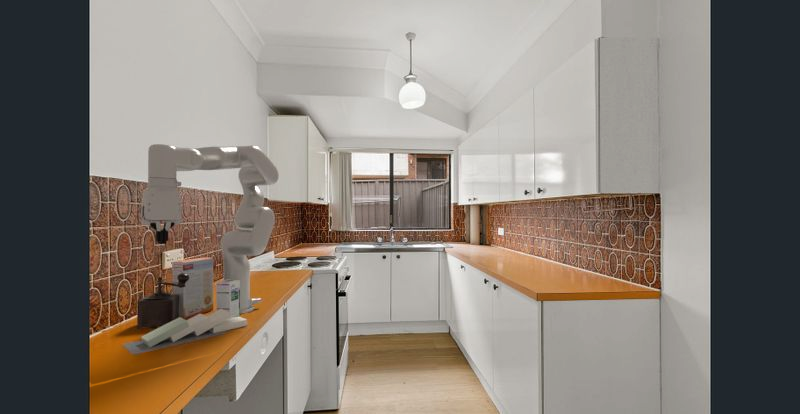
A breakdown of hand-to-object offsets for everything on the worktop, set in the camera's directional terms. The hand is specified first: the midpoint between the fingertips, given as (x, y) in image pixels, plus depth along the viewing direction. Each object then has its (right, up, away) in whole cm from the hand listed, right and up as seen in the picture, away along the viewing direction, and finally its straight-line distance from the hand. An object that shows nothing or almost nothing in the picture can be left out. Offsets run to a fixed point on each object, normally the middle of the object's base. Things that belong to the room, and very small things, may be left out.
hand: (161, 243), depth 119 cm
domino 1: (+1, -28, -9) cm, 29 cm away
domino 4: (+13, -28, +5) cm, 31 cm away
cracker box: (-5, -30, +27) cm, 40 cm away
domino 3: (+9, -28, +1) cm, 29 cm away
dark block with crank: (-7, -30, +14) cm, 34 cm away
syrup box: (+13, -30, +18) cm, 37 cm away
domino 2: (+5, -28, -4) cm, 28 cm away
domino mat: (+6, -29, -3) cm, 30 cm away
